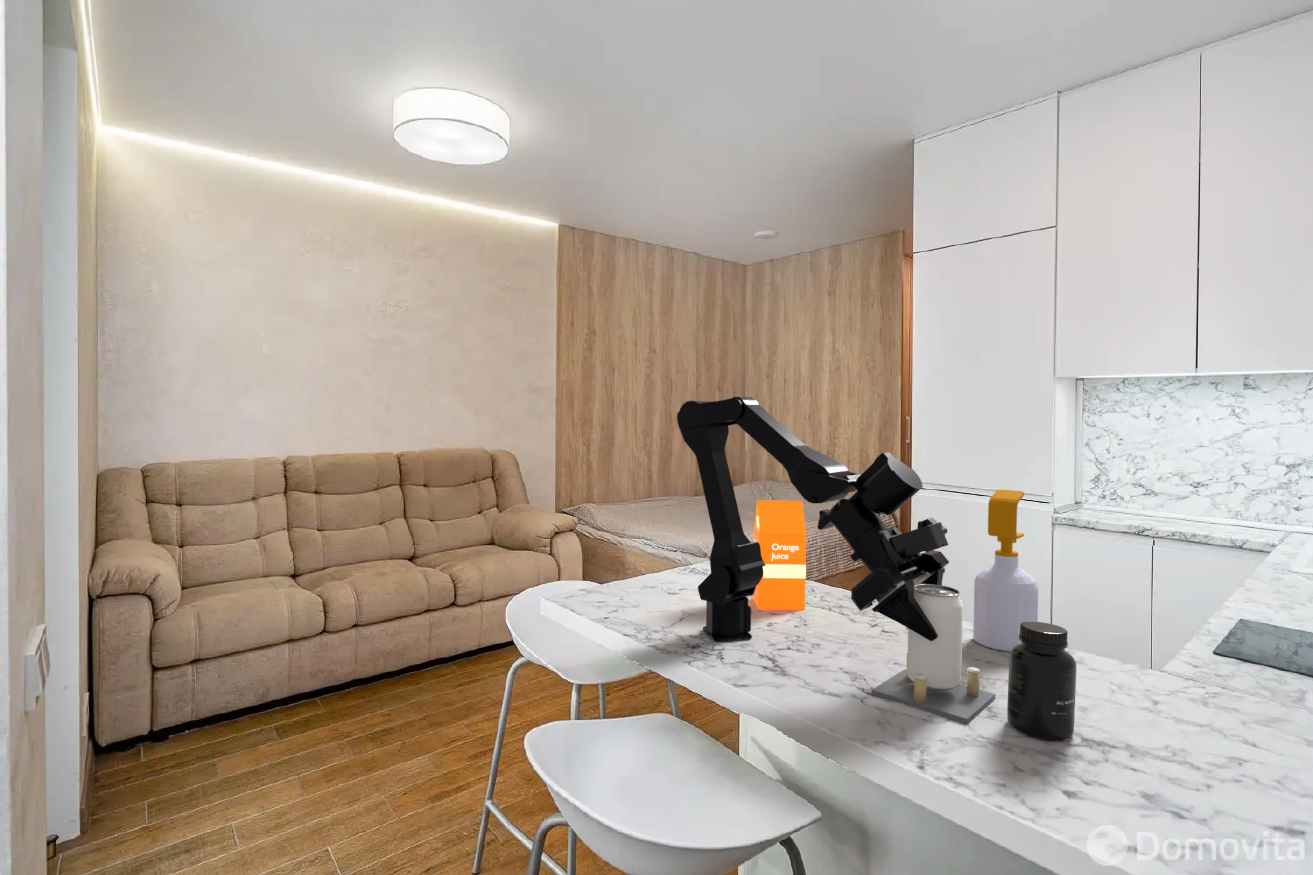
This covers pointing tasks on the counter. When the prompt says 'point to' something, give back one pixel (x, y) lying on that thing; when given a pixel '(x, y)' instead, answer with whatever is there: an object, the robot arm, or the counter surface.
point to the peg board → (937, 695)
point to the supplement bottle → (1042, 683)
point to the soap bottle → (1003, 581)
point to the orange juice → (781, 555)
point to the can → (946, 650)
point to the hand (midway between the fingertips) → (945, 633)
